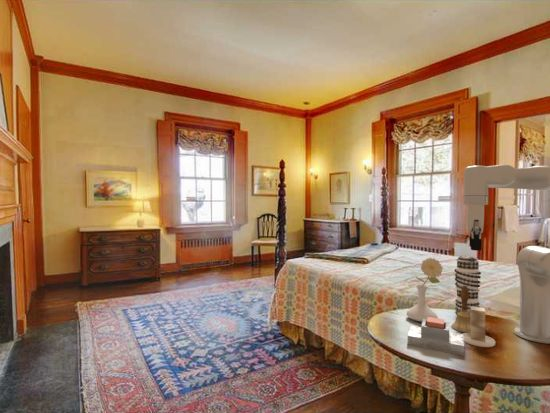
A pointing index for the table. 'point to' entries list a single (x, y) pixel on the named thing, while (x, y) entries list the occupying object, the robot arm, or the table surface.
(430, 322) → the button
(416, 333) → the base
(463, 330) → the hand bell
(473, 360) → the table surface
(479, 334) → the pale wood brick
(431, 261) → the flower in vase
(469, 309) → the decorative candle
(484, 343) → the coaster
